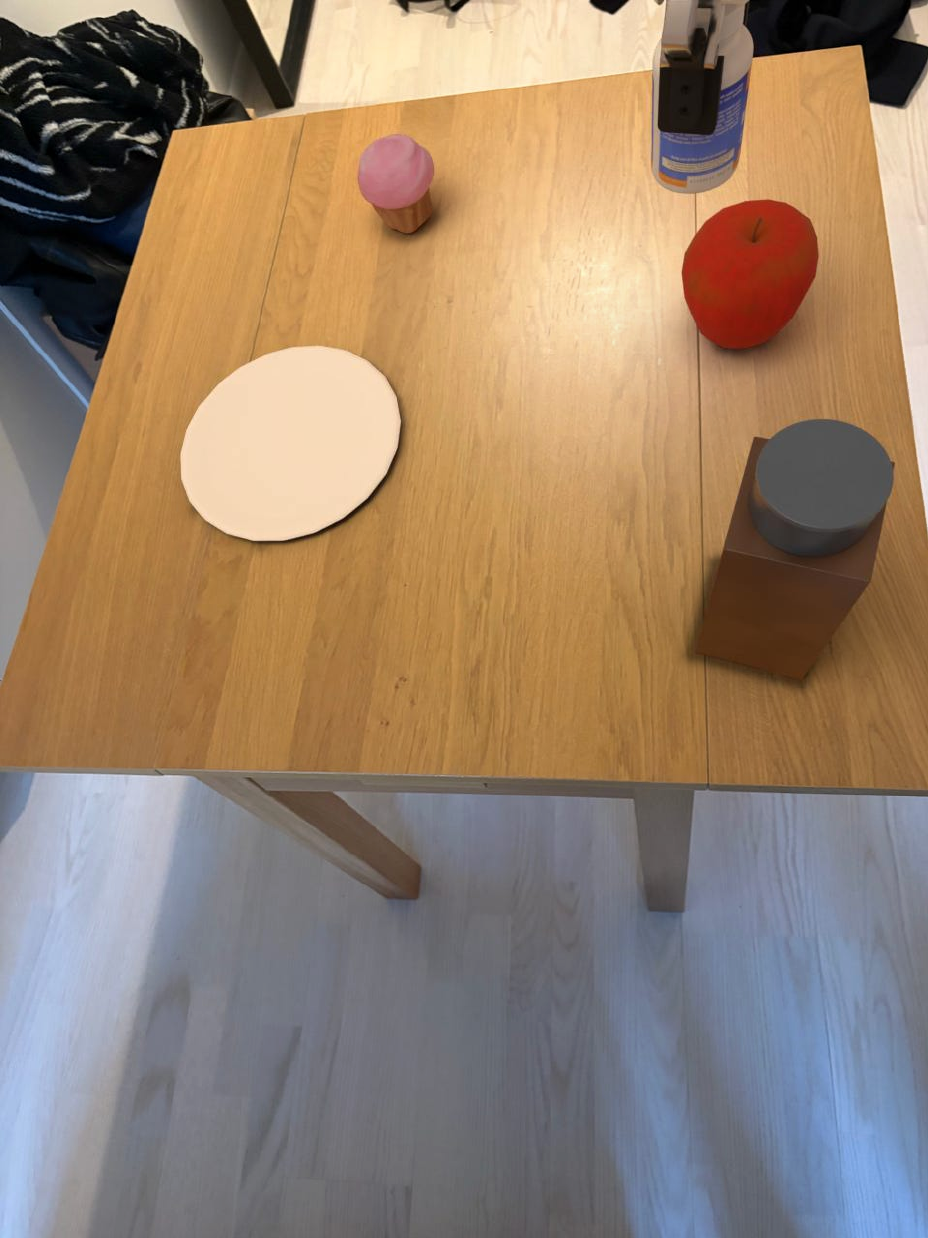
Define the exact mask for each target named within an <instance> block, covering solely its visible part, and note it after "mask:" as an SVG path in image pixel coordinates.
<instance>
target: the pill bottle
mask: <svg viewBox="0 0 928 1238" xmlns="http://www.w3.org/2000/svg"><path fill="white" fill-rule="evenodd" d="M744 9H745V4H744V5H743V6H742V7H736V5H735V4H726V8H725V15H724V21H723V28H722V35H721V42H720V48H719V55H718V56H725V57H724V66H723V76H722V85H721V94H720V103H719V112H718V121H717V126H716V128H715V131H714V133H713V134H711V135H696V134H681V133H667V132H661V131H660V130H659V129H658V99H659V73H660V57H661V39H662V37H660V39H659V41H658V42H657V44H656V46H655V48H654V51H653V55H652V68H651V69H652V72H651V134H650V137H651V139H650V141H651V143H650V168H651V173H652V176H653V178H654V180H655V181H656V182H657V183H658V185H660V187H662V188H664V189H665V190H668V191H670V192H672V193H677V194H684V195H693V194H702V193H706V192H709V191H712V190H714V189H717V188H719V187H721V186H722V185H724V184H725V183H726V182H727V181H729V180H730V179H731V178H732V176H733V175H734V174H735V172H736V171H737V168H738V166H739V164H740V158H741V154H742V153H741V152H742V145H743V137H744V128H745V121H746V112H747V104H748V98H749V89H750V82H751V73H752V67H753V58H754V41H753V37H752V34H751V33H750V30H749V29H748V28H747V26H746V27H745V26H744V25H743V18H744ZM710 13H711V9H708V8H697V14H696V24H697V28H704V30H705V33H706V35H708V27H709V20H710Z"/></svg>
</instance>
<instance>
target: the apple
mask: <svg viewBox="0 0 928 1238" xmlns="http://www.w3.org/2000/svg"><path fill="white" fill-rule="evenodd" d="M818 243H819V242H818V236H817V233H816V230H815V228H814V225H813V222H812V219H810V218H809V217H808V216H807V215H805V214H804V213H803V212H801V211H800V210H798V209H797V208H796V207H794V206H793V205H791V204H789V203H788V202H784V201H779V200H774V199H768V198H767V199H756V200H755V199H754V200H745V201H742V202H738V203H735V204H732V205H728V206H726V207H722V209H720V210H719V211H717V212H716V213H714V214H713V215H712V216H711V217H709V218H708V219H706V220H705V221H704V223H703V224H702V225H701V226H700V228H699V229H698V231H697V232H696V233H695V234H694V236H693V238H692V239H691V241H690V243H689V245H688V246H687V249H686V250H685V252H684V255H683V261H682V268H681V279H682V280H681V281H682V289H683V298H684V301H685V303H686V305H687V308H688V310H689V312H690V315H691V317H692V319H693V320H694V323H695V325H696V327H697V329H698V331H699V333H700V334H701V335H702V336H704V338H705V339H707V340H708V341H710V342H711V343H713V344H714V345H717V346H720V347H721V348H725V349H742V350H743V349H748V348H752V347H756V346H760V345H762V344H763V343H765V342H767V341H769V340H770V339H772V338H773V337H774V336H776V335H777V334H778V333H779V332H780V331H781V330H782V329H784V327H785V326H786V325H788V323H790V321H792V320H793V318H794V316H795V315H796V313H797V311H798V309H799V307H801V304H802V303H803V301H804V299H805V297H806V295H807V293H808V291H809V290H810V288H811V286H812V284H813V283H814V281H815V278H816V277H817V270H818V263H819V244H818Z"/></svg>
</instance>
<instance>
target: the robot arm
mask: <svg viewBox="0 0 928 1238" xmlns="http://www.w3.org/2000/svg"><path fill="white" fill-rule="evenodd" d="M653 1H654V3H655V4H656V5H658V6H661V5H663V3H664V2H665V9H664V19H663V27H662V32H661V38H662V39H661V38H660V39H661V57H660V73H659V99H658V129H659V130H660V131H661V132H667V133H681V134H696V135H711V134H713V133H714V131H715V128H716V126H717V121H718V112H719V103H720V94H721V85H722V76H723V66H724V57H725V56H718V55H719V48H720V42H721V35H722V28H723V21H724V15H725V8H726V4H735V5H736V7H742V6H743V5H744V4H745V9H744V18H743V25H744V26H745V27H746V28H747V23H748V15H749V7H750V0H653ZM697 8H708V9H711V13H710V20H709V27H708V35H706V33H705V30H704V28H697V24H696V14H697Z"/></svg>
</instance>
